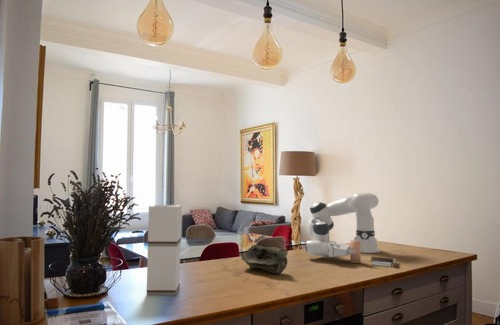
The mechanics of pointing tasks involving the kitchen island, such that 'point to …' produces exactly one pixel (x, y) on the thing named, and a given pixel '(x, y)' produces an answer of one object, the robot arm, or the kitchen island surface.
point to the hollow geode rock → (266, 258)
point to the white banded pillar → (164, 250)
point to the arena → (383, 261)
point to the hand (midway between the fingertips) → (357, 250)
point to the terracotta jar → (356, 246)
